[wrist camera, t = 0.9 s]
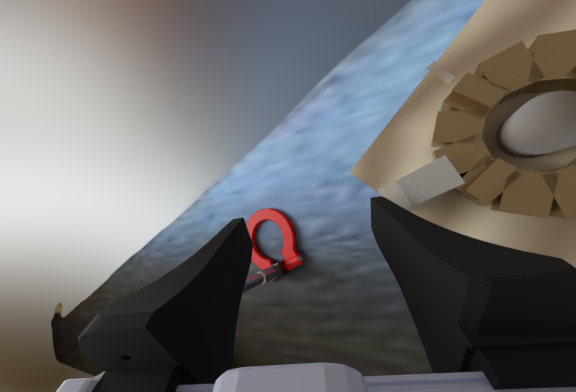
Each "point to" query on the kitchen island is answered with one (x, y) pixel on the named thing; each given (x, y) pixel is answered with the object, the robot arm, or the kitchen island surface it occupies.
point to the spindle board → (488, 129)
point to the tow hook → (288, 252)
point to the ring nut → (472, 150)
